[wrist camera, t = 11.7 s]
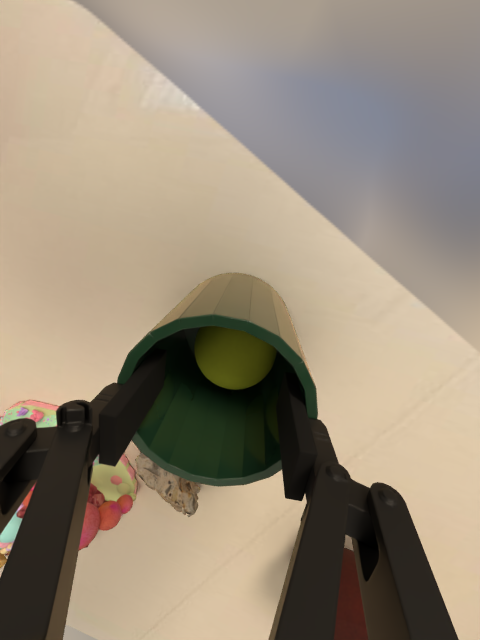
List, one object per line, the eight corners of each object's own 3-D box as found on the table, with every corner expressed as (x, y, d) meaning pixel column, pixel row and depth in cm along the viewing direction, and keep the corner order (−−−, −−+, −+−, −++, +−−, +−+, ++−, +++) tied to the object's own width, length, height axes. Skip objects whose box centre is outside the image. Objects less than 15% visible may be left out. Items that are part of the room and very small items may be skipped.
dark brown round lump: (307, 507, 34) (326, 620, 24) (398, 542, 35) (453, 664, 25) (269, 558, 38) (273, 675, 28) (353, 589, 39) (386, 712, 29)
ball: (202, 292, 24) (195, 317, 18) (275, 303, 25) (294, 330, 19) (193, 359, 27) (185, 402, 20) (261, 367, 27) (274, 411, 21)
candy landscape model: (69, 562, 41) (17, 654, 32) (-81, 478, 37) (-187, 556, 28) (164, 470, 33) (131, 555, 25) (-10, 354, 30) (-121, 407, 21)
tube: (186, 263, 25) (119, 296, 13) (301, 284, 25) (343, 337, 13) (176, 365, 29) (115, 468, 16) (276, 383, 29) (290, 500, 16)
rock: (241, 491, 32) (206, 490, 24) (195, 541, 31) (142, 558, 23) (200, 433, 37) (160, 417, 29) (159, 474, 36) (106, 469, 28)
